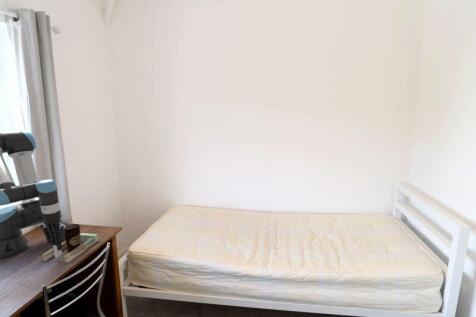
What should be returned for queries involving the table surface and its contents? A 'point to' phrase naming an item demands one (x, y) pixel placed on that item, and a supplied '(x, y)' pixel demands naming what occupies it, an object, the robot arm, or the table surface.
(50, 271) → the table surface
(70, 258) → the rail outer
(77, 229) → the coffee cup
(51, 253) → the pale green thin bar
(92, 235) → the backstop
